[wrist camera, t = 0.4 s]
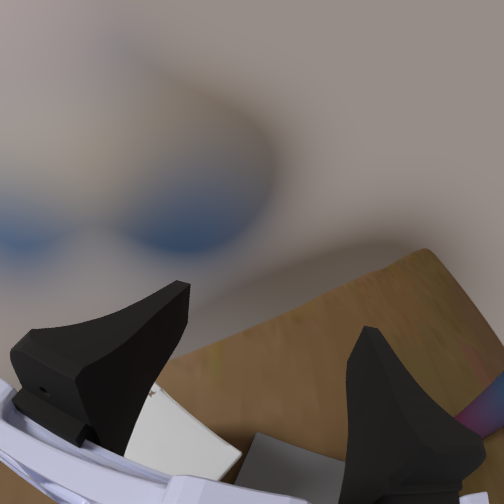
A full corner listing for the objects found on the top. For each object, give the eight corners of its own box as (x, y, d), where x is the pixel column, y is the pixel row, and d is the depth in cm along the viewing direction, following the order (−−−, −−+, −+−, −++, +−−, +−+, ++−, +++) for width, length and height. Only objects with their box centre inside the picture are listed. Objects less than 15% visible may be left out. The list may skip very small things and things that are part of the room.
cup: (455, 406, 35) (527, 340, 26) (478, 438, 31) (555, 376, 22) (433, 430, 31) (516, 362, 23) (458, 465, 27) (548, 404, 18)
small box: (110, 461, 22) (89, 422, 16) (151, 426, 26) (150, 375, 20) (178, 521, 19) (187, 514, 13) (217, 481, 23) (245, 452, 17)
